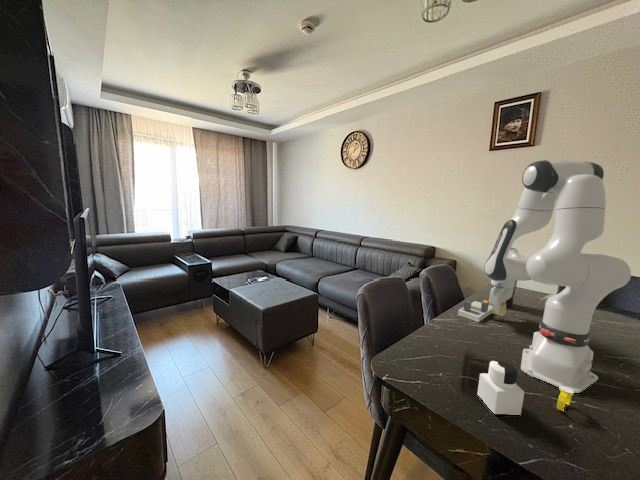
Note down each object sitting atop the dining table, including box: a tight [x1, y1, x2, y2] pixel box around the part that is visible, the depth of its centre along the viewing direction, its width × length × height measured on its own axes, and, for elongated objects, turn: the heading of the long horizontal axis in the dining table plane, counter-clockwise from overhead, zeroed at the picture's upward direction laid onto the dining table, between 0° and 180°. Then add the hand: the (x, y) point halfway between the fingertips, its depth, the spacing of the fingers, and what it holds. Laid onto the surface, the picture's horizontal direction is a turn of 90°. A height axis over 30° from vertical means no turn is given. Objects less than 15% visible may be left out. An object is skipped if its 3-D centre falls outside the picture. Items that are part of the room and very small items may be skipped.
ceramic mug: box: [539, 293, 555, 310], centre depth 130 cm, size 11×8×8 cm
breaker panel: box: [457, 300, 493, 323], centre depth 125 cm, size 20×9×3 cm, turn 128°
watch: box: [556, 386, 575, 413], centre depth 67 cm, size 6×3×6 cm, turn 122°
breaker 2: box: [481, 299, 490, 312], centre depth 121 cm, size 3×2×5 cm, turn 128°
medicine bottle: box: [476, 359, 525, 416], centre depth 67 cm, size 7×7×12 cm
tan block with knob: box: [491, 303, 507, 317], centre depth 119 cm, size 4×4×6 cm
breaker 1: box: [463, 299, 473, 311], centre depth 123 cm, size 3×2×4 cm, turn 128°
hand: (499, 310), depth 119 cm, fingers closed on tan block with knob, 4 cm apart
